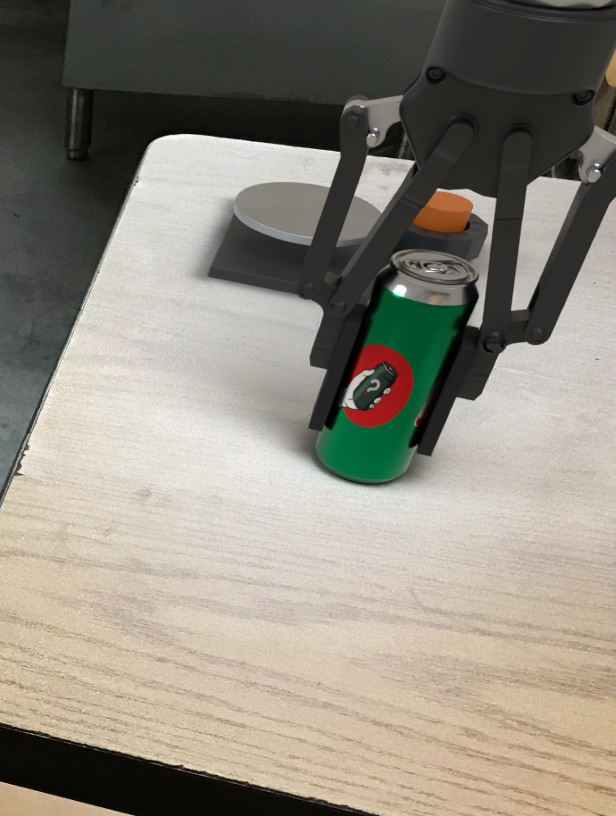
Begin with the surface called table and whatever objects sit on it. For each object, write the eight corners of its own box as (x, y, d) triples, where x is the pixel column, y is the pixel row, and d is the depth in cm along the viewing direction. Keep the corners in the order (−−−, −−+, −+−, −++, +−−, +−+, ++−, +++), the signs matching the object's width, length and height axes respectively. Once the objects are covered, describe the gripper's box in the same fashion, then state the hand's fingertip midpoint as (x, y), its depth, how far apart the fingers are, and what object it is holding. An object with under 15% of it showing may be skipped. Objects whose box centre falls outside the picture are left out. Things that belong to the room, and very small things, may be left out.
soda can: (412, 493, 76) (498, 292, 68) (319, 483, 76) (393, 282, 68) (395, 445, 80) (474, 250, 72) (305, 436, 80) (374, 241, 72)
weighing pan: (387, 205, 98) (390, 197, 97) (374, 259, 91) (378, 250, 90) (244, 180, 101) (247, 172, 100) (222, 230, 94) (224, 221, 93)
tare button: (465, 220, 97) (474, 196, 96) (462, 239, 94) (472, 215, 93) (411, 211, 98) (420, 187, 97) (407, 229, 95) (416, 205, 94)
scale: (470, 258, 99) (489, 212, 97) (461, 341, 90) (482, 292, 87) (236, 215, 104) (249, 169, 102) (204, 289, 95) (217, 240, 92)
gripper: (766, -10, 61) (546, 437, 76) (344, -62, 66) (218, 365, 82) (786, 35, 56) (545, 505, 71) (327, -25, 61) (196, 424, 77)
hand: (371, 430), depth 77 cm, fingers closed on soda can, 5 cm apart
